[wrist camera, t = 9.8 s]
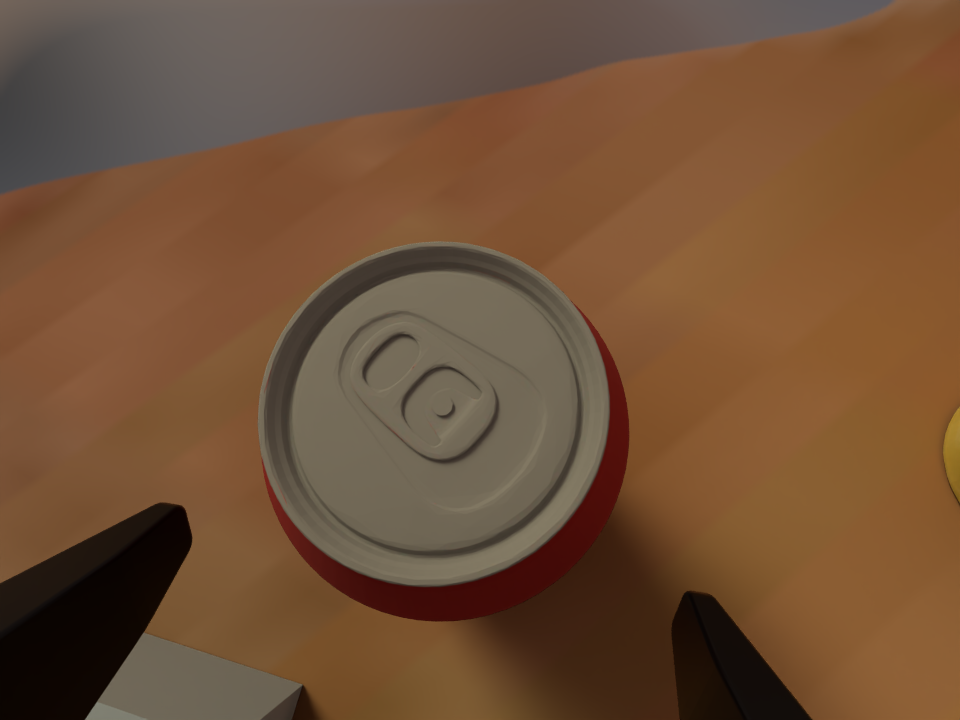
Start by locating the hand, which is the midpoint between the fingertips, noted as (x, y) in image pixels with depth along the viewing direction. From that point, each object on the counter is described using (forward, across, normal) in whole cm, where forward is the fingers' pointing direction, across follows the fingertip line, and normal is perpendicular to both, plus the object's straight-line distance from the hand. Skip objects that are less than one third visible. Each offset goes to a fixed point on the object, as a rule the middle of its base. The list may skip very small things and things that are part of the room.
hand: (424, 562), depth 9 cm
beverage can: (+9, 0, +5) cm, 10 cm away
